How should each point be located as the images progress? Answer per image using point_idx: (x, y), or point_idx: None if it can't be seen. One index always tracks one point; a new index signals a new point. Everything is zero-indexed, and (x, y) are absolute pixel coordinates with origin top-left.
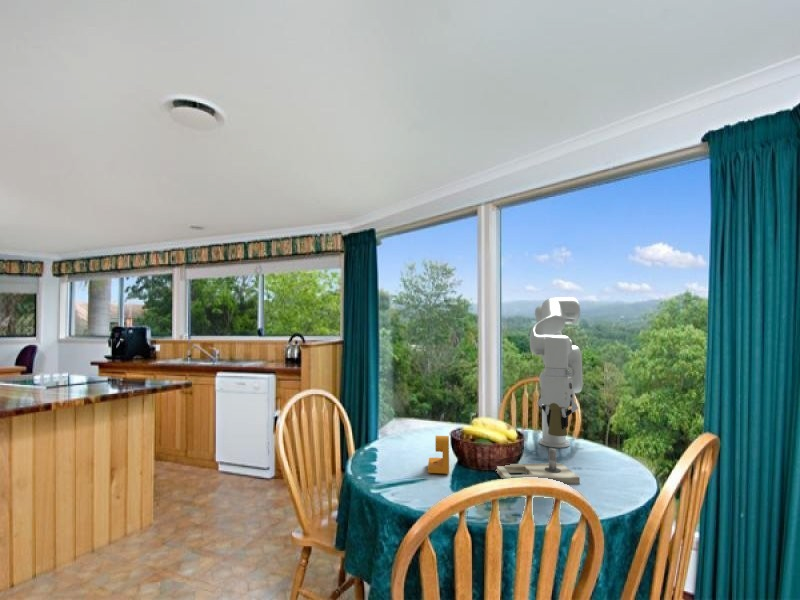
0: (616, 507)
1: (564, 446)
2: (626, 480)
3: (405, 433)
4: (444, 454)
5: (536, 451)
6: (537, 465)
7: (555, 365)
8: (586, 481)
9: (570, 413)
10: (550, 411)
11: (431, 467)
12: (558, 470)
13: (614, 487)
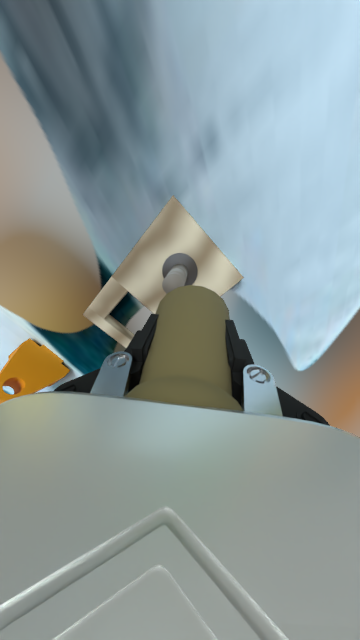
0: (313, 339)
1: None
2: (357, 153)
3: None
4: (40, 389)
5: (20, 40)
6: (139, 263)
7: None
8: (251, 249)
9: (291, 407)
10: (130, 383)
11: (50, 385)
12: (192, 269)
13: (315, 243)
